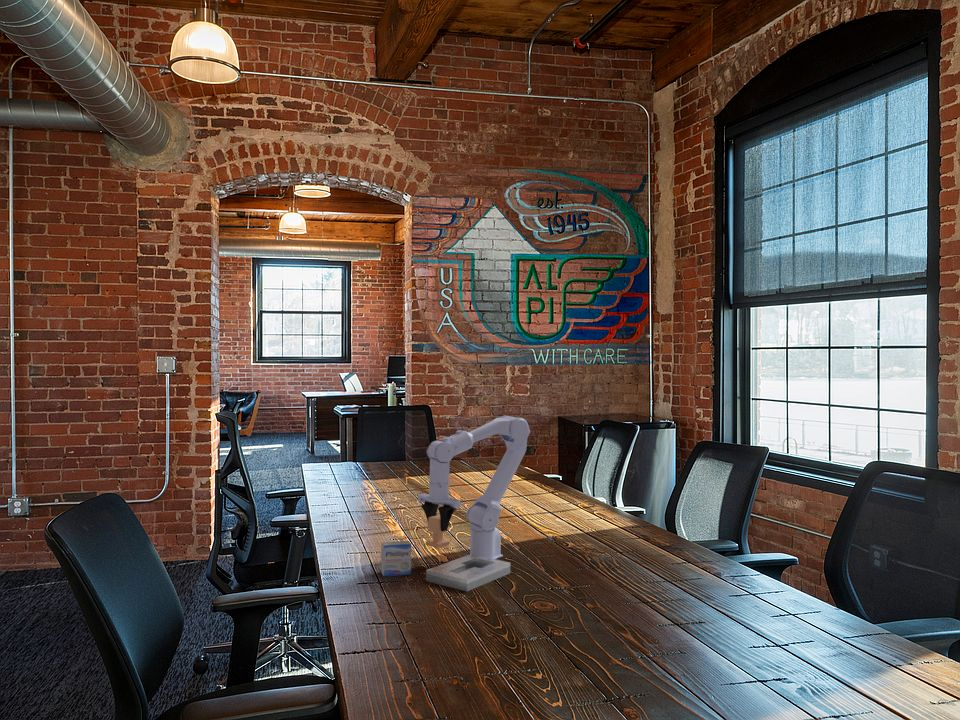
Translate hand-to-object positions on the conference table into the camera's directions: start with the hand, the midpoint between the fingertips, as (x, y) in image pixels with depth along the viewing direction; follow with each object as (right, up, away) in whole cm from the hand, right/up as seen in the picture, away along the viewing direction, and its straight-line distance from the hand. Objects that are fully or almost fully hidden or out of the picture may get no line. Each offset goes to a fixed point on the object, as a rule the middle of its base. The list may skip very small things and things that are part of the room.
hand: (438, 529), depth 218 cm
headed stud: (0, -5, 0) cm, 5 cm away
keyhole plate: (+9, -11, -11) cm, 18 cm away
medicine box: (-11, -11, -8) cm, 18 cm away
